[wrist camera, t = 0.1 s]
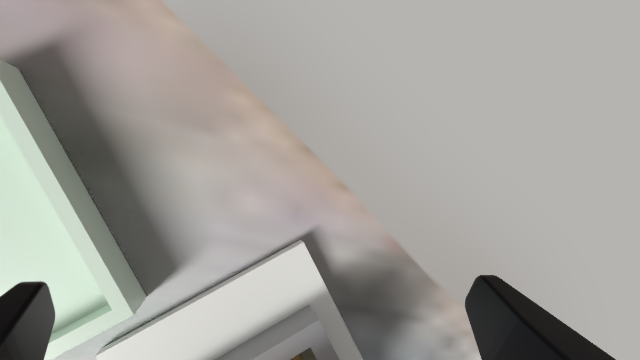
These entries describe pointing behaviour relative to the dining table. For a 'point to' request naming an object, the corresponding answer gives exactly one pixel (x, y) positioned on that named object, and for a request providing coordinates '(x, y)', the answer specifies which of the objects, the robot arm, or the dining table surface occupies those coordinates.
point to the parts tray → (55, 226)
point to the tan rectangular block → (297, 357)
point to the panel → (249, 319)
